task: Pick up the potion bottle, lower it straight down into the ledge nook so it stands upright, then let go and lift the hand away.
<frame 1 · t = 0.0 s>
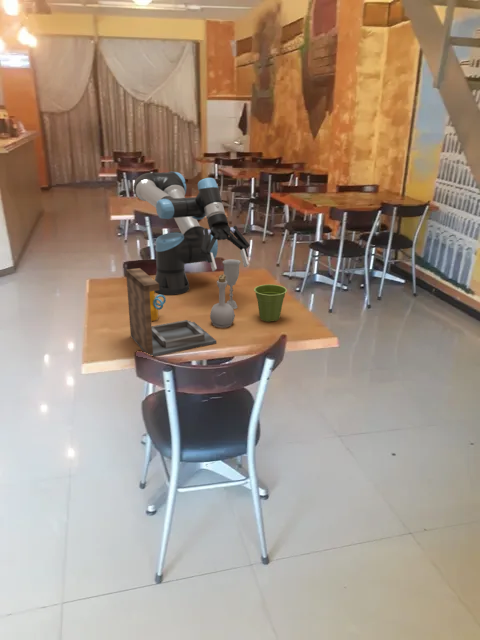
hand: (230, 268, 190), 15 cm above the table, tool tilted 35°, fingers open, 13 cm apart
chalice: (231, 307, 195), on the table
potion bottle: (221, 324, 179), on the table
ledge nook: (177, 338, 166), on the table
orange ring-handled vase: (150, 319, 182), on the table
plant pot: (269, 319, 184), on the table
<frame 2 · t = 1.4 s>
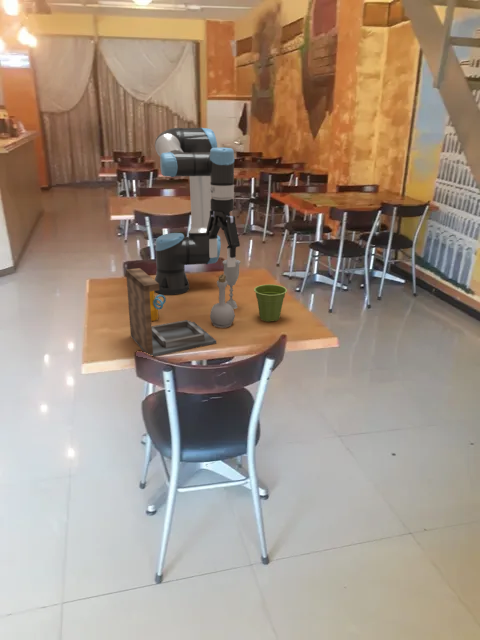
hand: (222, 262, 170), 23 cm above the table, tool pointing down, fingers open, 13 cm apart
nothing on the table moved.
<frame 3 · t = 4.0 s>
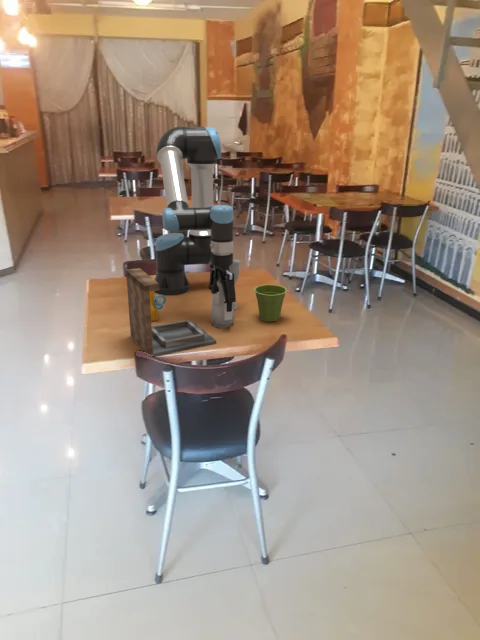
hand: (221, 314, 177), 3 cm above the table, tool pointing down, fingers closed on potion bottle, 9 cm apart
potion bottle: (221, 324, 179), on the table, touching gripper
everything else where it was.
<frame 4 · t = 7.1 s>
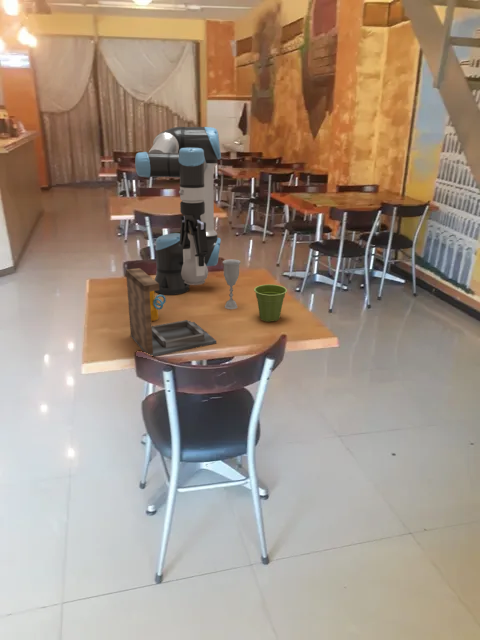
hand: (193, 271, 162), 22 cm above the table, tool pointing down, fingers closed on potion bottle, 9 cm apart
potion bottle: (194, 282, 164), point 18 cm above the table, touching gripper
everything else where it was.
when the fingers open (6 cm above the table, at t = 10.3 s): potion bottle drops 1 cm, resting on ledge nook.
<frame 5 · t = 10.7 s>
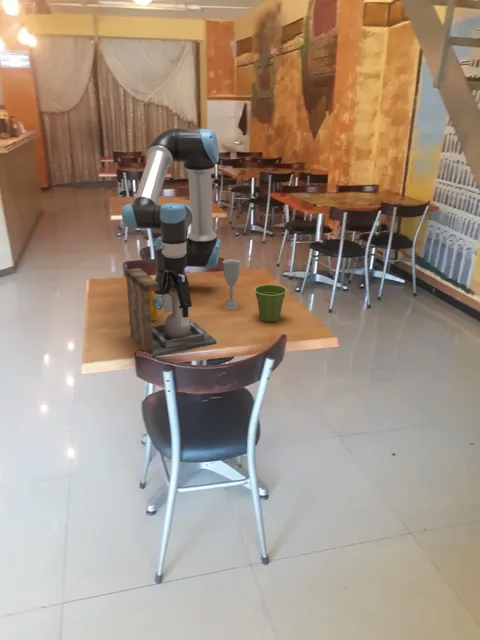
hand: (176, 318, 163), 7 cm above the table, tool pointing down, fingers open, 13 cm apart
potion bottle: (177, 336, 166), point 1 cm above the table, touching ledge nook
everything else where it was.
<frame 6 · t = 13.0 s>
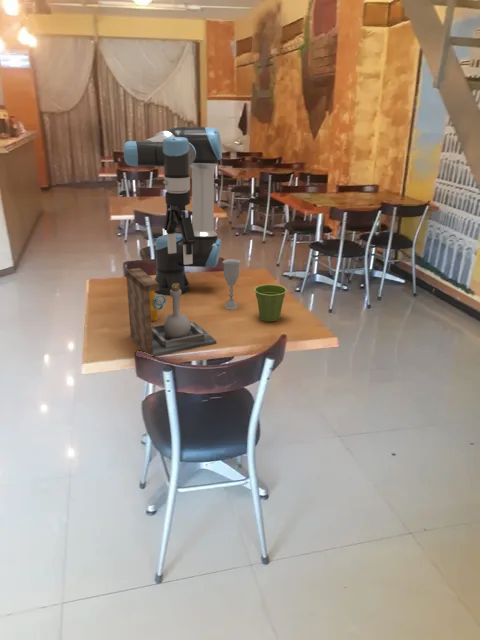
hand: (179, 258, 161), 26 cm above the table, tool pointing down, fingers open, 13 cm apart
nothing on the table moved.
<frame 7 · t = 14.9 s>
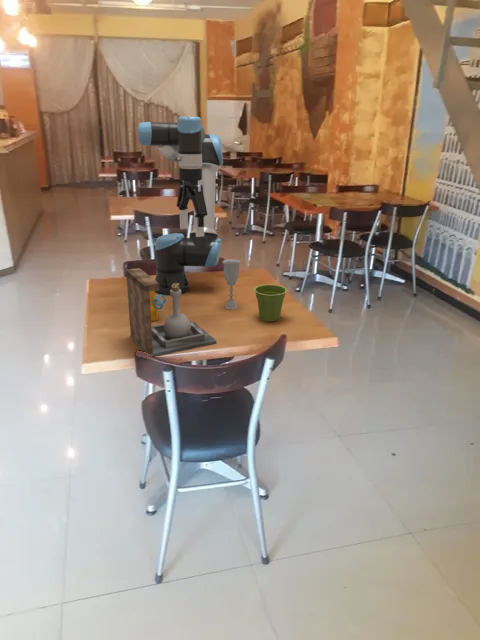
hand: (191, 232, 171), 32 cm above the table, tool pointing down, fingers open, 13 cm apart
nothing on the table moved.
at the end: potion bottle 0.1 cm off-centre on the ledge nook, point 0.8 cm above the ledge nook's base; potion bottle tilted 0°; the gripper is holding nothing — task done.
